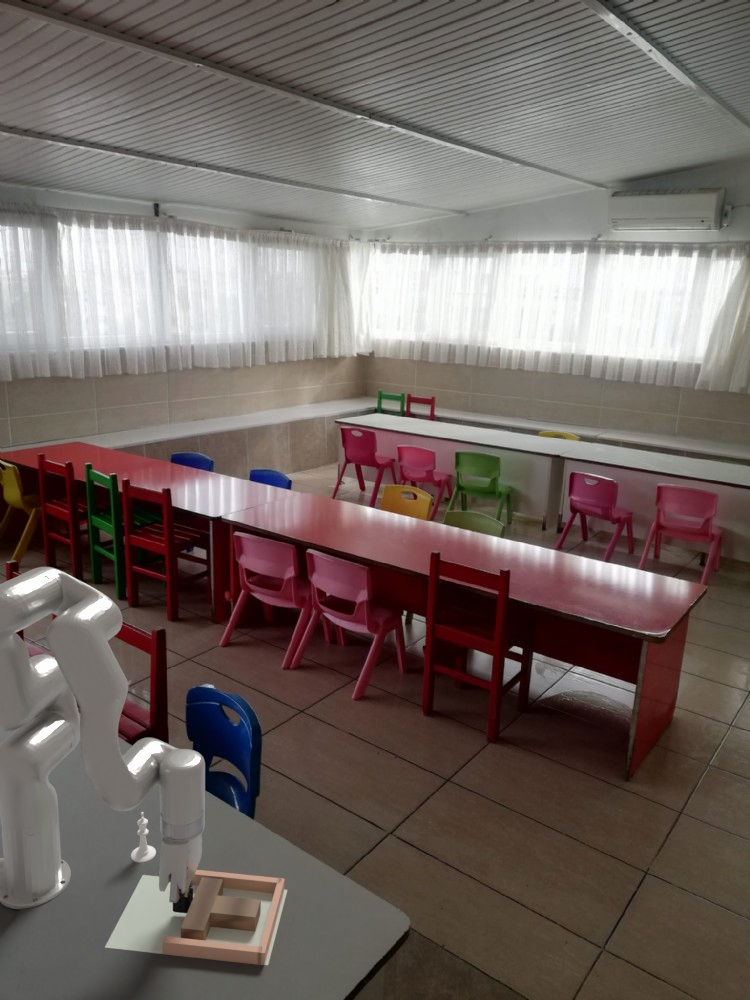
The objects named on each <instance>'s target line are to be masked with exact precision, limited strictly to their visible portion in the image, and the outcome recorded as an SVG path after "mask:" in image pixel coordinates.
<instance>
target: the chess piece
mask: <svg viewBox="0 0 750 1000" xmlns="http://www.w3.org/2000/svg"><path fill="white" fill-rule="evenodd" d="M140 817H141V818H140V819H138V820H137V822H136V823H137V826H138V830H137V833H136V834H137V836H138V837H139V844H138V845H139V846H138V847H136V848H135V849H133V850H132V851H131V853H130V859H131V860H132V861H133V862H135V863H139V864H140V863H141V864H142V863H147V862H149V861H151V860H152V859H153V858H155V856H156V854H157V850H156V848H155V847H153V845H148V842H147V837H146V836H147V835H148V834H149V829H148V828H147V826H148V823H149V820H148V818H145V815H144V811H142V812H140Z"/></svg>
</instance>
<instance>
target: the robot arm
mask: <svg viewBox="0 0 750 1000" xmlns="http://www.w3.org/2000/svg"><path fill="white" fill-rule="evenodd" d="M50 614H53V615H55V616H56V617H55V618H53V620H52V621H50V623H49V624H48V626H47V627H46V630H45V640H46V645H47V647H48V648H49V649H48V650H49V651H50V652H51V654H52V655H49V654H45V653H44V654H42V653H41V654H37V655H36V654H35V655H33V656H31V657H30V654H29V649H28V647H27V645H26V643H25V641H24V640H23V639H22V638H21V636H20V635H19V634H18V632H20V631H22V630H24V629H26V628H28V627H29V626H31V625H33V624H35V623H36V622H38V621H40V620H42V619H44V618H46V617H47V616H49V615H50ZM123 621H124V619H123V614H122V612H121V610H120V608H119V606H118V605H117V604H116V603H115V602H114V600H112V599H111V598H110V597H109V596H107V594H104V593H103V592H101V591H100V590H98V589H96V588H95V587H93V586H91V585H89V584H87V583H85V582H84V581H82V580H81V579H77V578H76V577H74V576H72V575H70V574H68V573H67V572H65V571H62V570H61V569H58V568H55V567H51V566H39V567H35V568H33V569H30V570H28V571H26V572H24V573H22V574H20V575H18V576H16V577H13V578H11V579H9V580H6V581H4V582H2V583H0V731H3V732H11V731H14V730H15V731H14V732H12V733H11V734H10V735H9V736H7V737H6V738H5V739H4V740H3V741H2V742H1V743H0V827H1V837H2V851H3V857H0V903H1V905H3V906H4V907H6V908H9V909H13V910H22V909H28V908H34V907H38V906H40V905H41V906H42V905H43V904H46V903H48V902H49V901H50V902H51V901H52V900H53V899H55V898H56V897H58V896H59V895H60V894H61V893H62V892H63V891H64V890H65V889H66V888H67V886H68V885H69V883H70V880H71V878H72V877H71V872H72V871H71V867H70V865H69V864H68V862H67V861H66V860H64V859H63V858H62V854H61V853H62V851H61V837H60V836H61V835H60V819H59V817H60V815H59V803H58V802H59V801H58V794H57V791H56V788H55V787H54V786H53V785H52V783H50V781H49V775H50V773H51V772H52V771H53V769H55V768H56V767H58V765H59V763H61V762H62V761H63V760H64V759H65V758H66V757H68V755H70V754H71V752H73V751H74V750H75V749H76V748H77V746H78V744H79V745H80V746H79V747H80V757H81V761H82V765H83V768H84V770H85V773H86V775H87V776H88V779H89V780H90V782H91V784H92V786H93V788H94V790H95V791H96V793H97V794H98V796H99V798H100V799H101V800H102V801H103V802H104V804H105V805H107V806H108V807H109V808H111V809H113V810H114V811H118V812H127V811H128V812H129V811H131V810H134V809H135V808H136V807H138V806H139V805H140V804H141V803H142V802H143V800H145V798H146V797H147V796H148V795H149V794H150V793H151V791H152V790H153V789H154V788H155V787H157V786H159V825H160V826H159V831H160V832H159V833H160V835H161V837H162V840H161V847H160V855H159V870H158V871H159V873H158V876H159V890H160V891H161V892H165V890H166V888H167V885H168V883H169V882H171V884H170V897H169V902H173V911H174V912H178V913H187V912H188V910H189V907H190V905H191V902H192V900H193V888H190V887H193V882H194V874H195V872H196V870H198V867H199V865H200V862H201V859H202V854H203V832H204V831H205V826H206V762H205V758H204V756H203V755H202V754H201V753H200V752H198V751H196V750H193V749H190V748H189V749H188V748H178V747H175V746H173V745H171V744H169V743H167V742H164V741H162V740H160V739H158V738H155V737H144V738H141V739H139V740H137V741H136V742H135V743H134V744H133V745H132V746H131V747H130V748H129V749H128V750H127V751H126V752H125V753H124V754H122V752H121V748H120V742H119V723H120V719H121V714H122V711H123V709H124V706H125V703H126V700H127V697H128V696H127V695H128V691H129V680H128V679H127V678H126V675H125V673H124V671H123V669H122V668H121V665H120V664H119V661H118V659H117V658H116V655H115V654H114V651H113V650H112V648H111V645H110V644H109V640H111V639H112V638H113V637H115V636H116V635H118V633H119V632H120V631H121V630H122V629H121V628H122V626H123ZM78 708H79V709H78ZM79 710H80V711H79ZM79 712H80V713H79Z"/></svg>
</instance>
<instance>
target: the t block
mask: <svg viewBox="0 0 750 1000" xmlns="http://www.w3.org/2000/svg"><path fill="white" fill-rule="evenodd" d="M222 895H223V879H215V878H205V877H202V878H201V881H200V883H199V886H198V888H197V890H196V893H195V895H194V898H193V900H192V902H191V905H190V907H189V910H188V912H187V914H186V917H185V919H184V922H183V924H182V926H181V938H186V939H195V940H205V941H206V938H207V935H208V933H209V930H210V927H217V928H227V929H236V930H245V931H256V928H257V924H258V921H259V917H260V913H261V900H256V899H246V898H237V897H227V896H222Z"/></svg>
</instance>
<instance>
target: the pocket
mask: <svg viewBox="0 0 750 1000" xmlns="http://www.w3.org/2000/svg"><path fill="white" fill-rule="evenodd" d="M202 877H205V878H215V879H223V888H228V889H238V890H247V891H257V892H267V893H274V896H273V899H272V903H271V906H270V910H269V913H268V917H267V921H266V924H265V928H264V931H263V935H262V939H261V942H260V946H251V945H242V944H232V943H223V942H214V941H205V940H195V939H186V938H177V937H168V936H165V937H164V939H163V942H162V951H163V954H162V955H167V954H169V955H170V956H176V955H178V957H185V956H188V957H187V958H194V957H197V958H196V959H204V958H206V960H213V959H215V960H214V961H222V960H224V961H223V962H231V961H233V962H232V963H240V962H242V963H241V964H249V963H251V964H252V965H258V964H261V965H260V966H266V965H265V961H266V958H267V954H268V950H269V946H270V942H271V938H272V935H273V931H274V927H275V923H276V919H277V916H278V912H279V908H280V904H281V900H282V897H283V893H284V889H285V884H286V883H285V881H286V880H285V879H286V878H281V877H271V876H263V875H253V874H252V875H251V874H243V873H233V872H232V873H231V872H225V871H223V872H222V871H213V870H202V869H197V870H196V872H195V874H194V882H193V885H199V883H200V881H201V878H202ZM169 955H168V956H169ZM251 964H250V965H251Z"/></svg>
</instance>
